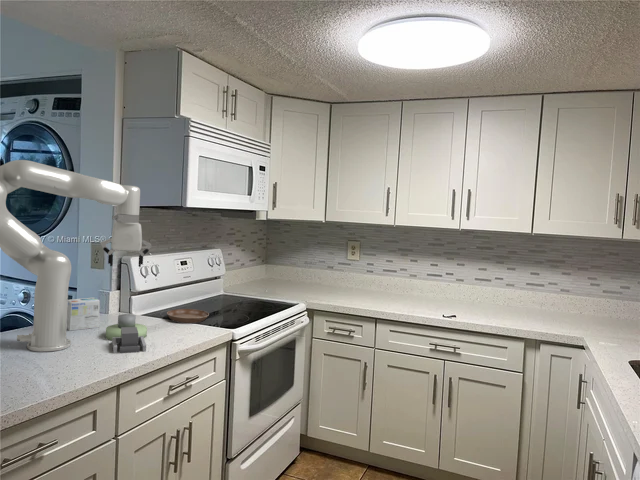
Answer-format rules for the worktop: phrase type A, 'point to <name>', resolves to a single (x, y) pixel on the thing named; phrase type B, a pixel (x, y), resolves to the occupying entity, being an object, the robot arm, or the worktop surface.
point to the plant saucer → (187, 315)
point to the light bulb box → (83, 313)
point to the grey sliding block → (129, 340)
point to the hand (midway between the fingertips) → (125, 266)
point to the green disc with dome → (125, 321)
